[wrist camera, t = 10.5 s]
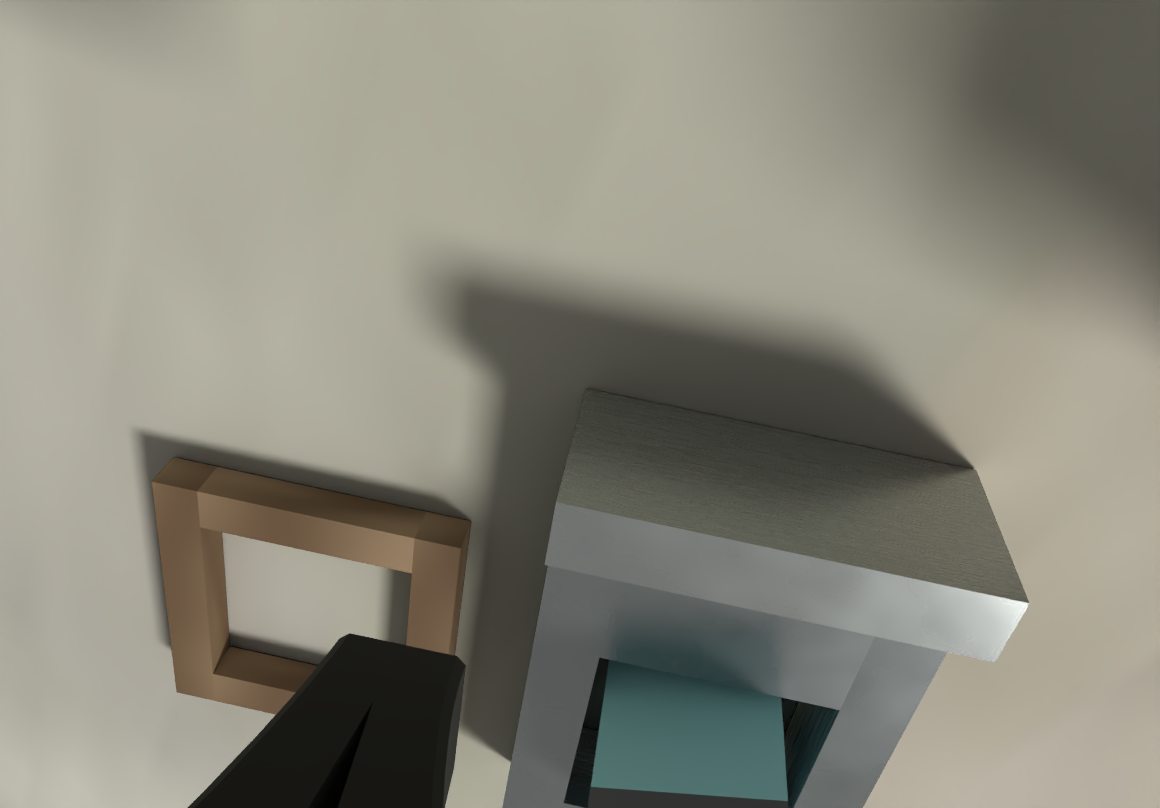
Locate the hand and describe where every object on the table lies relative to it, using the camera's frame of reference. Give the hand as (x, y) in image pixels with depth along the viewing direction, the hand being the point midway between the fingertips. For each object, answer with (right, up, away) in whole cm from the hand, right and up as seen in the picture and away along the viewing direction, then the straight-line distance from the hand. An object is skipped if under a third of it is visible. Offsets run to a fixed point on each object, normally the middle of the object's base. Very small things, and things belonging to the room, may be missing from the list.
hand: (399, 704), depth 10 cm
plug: (+5, -4, +13) cm, 15 cm away
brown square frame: (-5, -2, +14) cm, 15 cm away
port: (+5, -3, +12) cm, 14 cm away
